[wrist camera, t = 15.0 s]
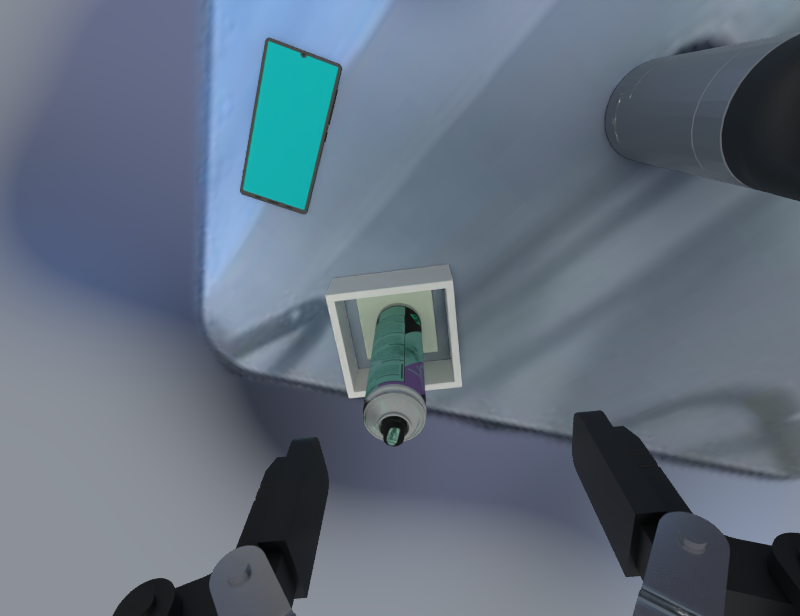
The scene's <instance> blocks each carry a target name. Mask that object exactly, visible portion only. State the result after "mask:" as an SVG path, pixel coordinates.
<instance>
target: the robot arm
mask: <svg viewBox="0 0 800 616" xmlns="http://www.w3.org/2000/svg"><path fill="white" fill-rule="evenodd" d="M605 125H606V133H607V137H608V139H609V141H610V143H611V145H612V147H613V148H614V149H615V150H616V151H617V152H618V153H619V154H620V155H622V156H623V157H625V158H627V159H630V160H634V161H638V162H642V163H646V164H650V165H654V166H658V167H662V168H666V169H670V170H675V171H679V172H683V173H687V174H692V175H696V176H700V177H704V178H709V179H713V180H717V181H721V182H726V183H731V184H735V185H739V186H743V187H748V188H752V189H756V190H760V191H764V192H768V193H772V194H775V195H778V196H782V197H786V198H790V199H793V200H797V201H800V32H796V33H790V34H785V35H780V36H776V37H771V38H765V39H760V40H755V41H749V42H744V43H739V44H734V45H728V46H723V47H718V48H712V49H707V50H702V51H697V52H691V53H686V54H680V55H675V56H669V57H664V58H659V59H654V60H651V61H649V62H646V63H643V64H642V65H640V66H638V67H637V68H635V69H633V70H632V71H631V72H630V73H629V74H628V75H627V76H625V77H624V79H623V80H622V81H621V82H620V84H619V85H618V86H617V87H616V89H615V91H614V93H613V94H612V96H611V98H610V101H609V104H608V107H607V112H606V118H605ZM572 456H573V462H574V466H575V469H576V471H577V473H578V476H579V478H580V480H581V482H582V484H583V487H584V489H585V491H586V493H587V495H588V497H589V499H590V501H591V503H592V506H593V508H594V510H595V512H596V514H597V516H598V518H599V521H600V523H601V525H602V527H603V529H604V531H605V533H606V536H607V538H608V540H609V542H610V544H611V546H612V548H613V551H614V552H615V555H616V557H617V559H618V561H619V563H620V566H621V568H622V570H623V572H624V574H625V576H626V577H633V576H641V578H642V580H643V584H642V588H641V590H640V592H639V594H638V598H637V602H636V605H635V610H634V613H633V616H800V533H784V534H781V535H779V536H777V537H776V538H775V539H774V542H773V544H772V546H770V545H765V544H760V543H755V542H750V541H745V540H740V539H736V538H732V537H728V536H726V535H723V533H721V531H720V530H719V529H718V528H717V527H716V526H715V525H713V524H712V523H710V522H709V521H707V520H706V519H704V518H702V517H700V516H697V515H695V514H693V513H692V512H691V511H690V509H689V508H688V506H687V505H686V504H685V502H684V501H683V499H682V498H681V497H680V495H679V494H678V492H677V491H676V490H675V488H674V487H673V486H672V484H671V483H670V481H669V479H668V478H667V477H666V475H665V474H664V472H663V471H662V469H661V468H660V467H658V465H657V462H656V461H655V460H654V458H653V457H652V455H650V454H649V451H648V450H647V448H646V447H645V445H644V444H643V443H642V441H641V440H640V438H639V437H637V436H636V435H635V434H633V433H632V432H631V431H629V430H628V429H627V428H625V427H624V426H619V427H613V426H612V425H611V423H610V422H609V420H608V418H607V417H606V415H605V414H604V413H603V412H602V411H600V410H599V411H589V412H578V413H575V414H574V421H573V440H572ZM328 489H329V478H328V471H327V467H326V464H325V461H324V457H323V453H322V450H321V446H320V442H319V440H318V438H317V437H310V438H299V439H293V440H292V442H291V444H290V447H289V450H288V453H287V456H286V457H277V458H276V459H275V461H274V462H273V463H272V464H271V465H270V467H269V468H268V469H267V470H266V472H265V474H264V477H263V480H262V482H261V485H260V488H259V490H258V492H257V495H256V500H255V501H254V503H253V505H252V508H251V511H250V513H249V516H248V518H247V521H246V524H245V526H244V529H243V532H242V534H241V537H240V539H239V542H238V545H237V547H236V549H234V550H233V551H231V552H229V553H228V554H227V555H225V556H224V557H223V558H222V559H221V560H220V561H219V563H218V564H217V565H216V566H215V568H214V570H213V572H212V573H211V574H209V575H207V576H205V577H203V578H200V579H198V580H195V581H192V582H190V583H187V584H185V585H183V586H180V587H177V588H175V587H174V585H173V584H172V582H170V581H169V580H167V579H164V578H157V579H152V580H150V581H147V582H145V583H143V584H141V585H139V586H138V587H137V588H135V589H134V590H132V591H131V592H130V593H129V594H128V595H127V596H126V597H125V598H124V599H123V600H122V602H121V603H120V604H119V605H118V607H117V609H116V611H115V612H114V614H113V616H296V615H295V613H293V611H292V605H293V601H294V599H296V598H307V595H308V590H309V585H310V580H311V575H312V570H313V565H314V560H315V555H316V550H317V545H318V540H319V535H320V530H321V525H322V520H323V515H324V510H325V505H326V500H327V495H328Z"/></svg>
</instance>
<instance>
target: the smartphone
mask: <svg viewBox="0 0 800 616" xmlns="http://www.w3.org/2000/svg"><path fill="white" fill-rule="evenodd" d="M341 70H342V67H341V65H340V64H338V63H335V62H332V61H330V60H327V59H324V58H322V57H319V56H316V55H314V54H311V53H309V52H306V51H303V50H301V49H298V48H295V47H293V46H290V45H287V44H285V43H282V42H279V41H277V40H274V39H272V38H267V39H266V40H265V46H264V52H263V58H262V63H261V69H260V75H259V81H258V87H257V93H256V99H255V105H254V111H253V117H252V123H251V128H250V134H249V140H248V146H247V152H246V158H245V164H244V170H243V176H242V182H241V188H240V192H241V194H243V195H246V196H249V197H252V198H255V199H258V200H261V201H264V202H267V203H270V204H273V205H276V206H279V207H282V208H286V209H289V210H292V211H295V212H298V213H301V214H306V213H307V211H308V207H309V203H310V199H311V194H312V190H313V186H314V182H315V178H316V174H317V170H318V166H319V161H320V157H321V153H322V149H323V145H324V142H325V141H326V137H327V128H328V124H330V120H331V116H332V112H333V108H334V104H335V100H336V95H337V91H338V90H337V87H338V83H339V79H340V75H341Z"/></svg>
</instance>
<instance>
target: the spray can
mask: <svg viewBox="0 0 800 616" xmlns="http://www.w3.org/2000/svg"><path fill="white" fill-rule="evenodd" d="M363 415H364V416H363V417H364V423H365V426H366V428H367V430H368V431H369V432H370V433H371V434H372V435H374V436H375V437H377V438H378V439H381V440H383V441H384V442H385V443H386V444H387V445H389V446H398V445H400V444H402V442H404V441H407V440H410V439H412V438H414V437H415V436H416V435H418V434H419V433H420V431H421V430H422V429H423V427H424V424H425V418H426V396H425V379H424V362H423V345H422V327H421V319H420V316H419V314H418V313H417V311H416V310H415V309H414V308H413V307H411V306H409V305H407V304H403V303H394V304H391V305H388V306H386V307H385V308H383V309H382V310H381V312H380V313H379V315H378V317H377V321H376V327H375V334H374V341H373V347H372V354H371V361H370V367H369V374H368V381H367V387H366V394H365V400H364V407H363Z"/></svg>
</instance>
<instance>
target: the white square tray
mask: <svg viewBox="0 0 800 616" xmlns="http://www.w3.org/2000/svg"><path fill="white" fill-rule="evenodd" d="M435 289H444V295H445V305H446V316H447V326H448V336H449V347H450V357H451V359H446V360H436V361H427V362H424V379H425V390H435V389H445V388H455V387H462V380H461V368H460V357H459V345H458V334H457V322H456V311H455V299H454V288H453V279H452V275H451V272H450V268H449V264H446V265H438V266H430V267H422V268H414V269H405V270H397V271H389V272H381V273H373V274H364V275H356V276H348V277H340V278H333V279H332V281H331V283H330V286H329V288H328V290H327V293H326V295H325V296H326V301H327V305H328V309H329V314H330V318H331V322H332V327H333V331H334V336H335V340H336V344H337V349H338V353H339V357H340V362H341V366H342V371H343V375H344V379H345V384H346V388H347V393H348V397H349V398H357V397H365V394H366V387H367V381H368V374H369V368H361V369H358V364H357V360H356V355H355V350H354V345H353V341H352V336H351V331H350V326H349V321H348V317H347V312H346V307H345V302H344V300H351V299H356V302H357V307H358V312H359V317H360V322H361V327H362V332H363V338H364V343H365V348H366V353H367V358H368V359H371V354H372V347H373V341H374V334H375V327H376V321H377V317H378V315H379V313H380V312H381V310H382V309H383V308H385V307H386V306H388V305H391V304H394V303H403V304H407V305H409V306H411V307H413V308H414V309H415V310H416V311H417V313H418V314H419V316H420V319H421V327H422V345H423V353H429V352H438V346H437V337H436V328H435V319H434V310H433V301H432V292H431V290H435Z"/></svg>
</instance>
